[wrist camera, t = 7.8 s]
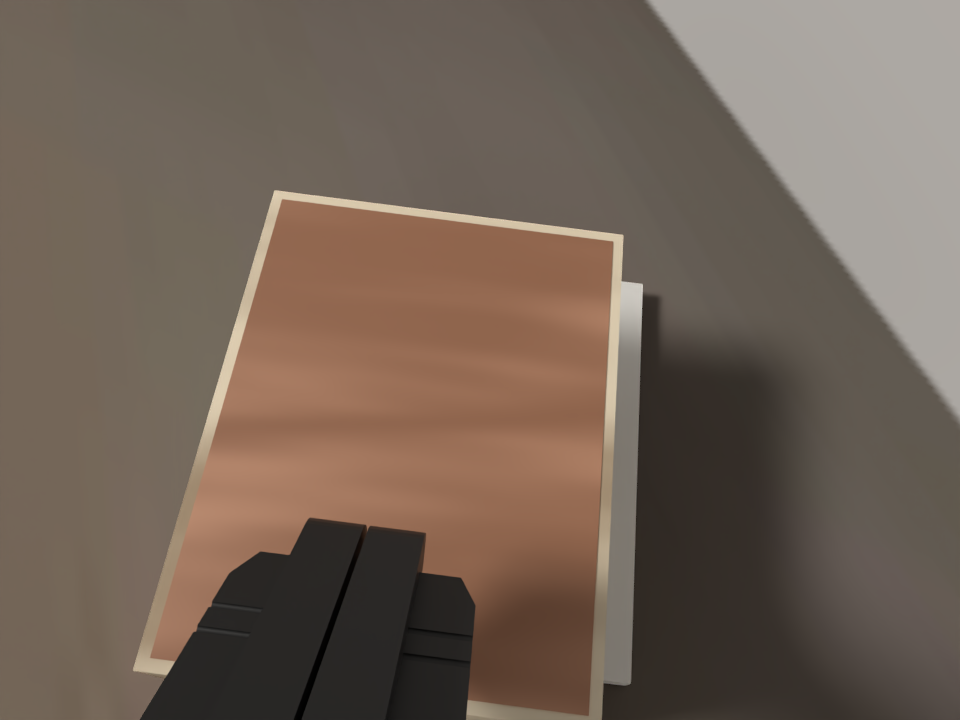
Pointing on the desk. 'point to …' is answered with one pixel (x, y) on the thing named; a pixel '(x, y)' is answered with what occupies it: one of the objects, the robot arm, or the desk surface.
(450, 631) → the robot arm
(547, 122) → the desk surface
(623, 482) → the mat
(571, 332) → the maple block
